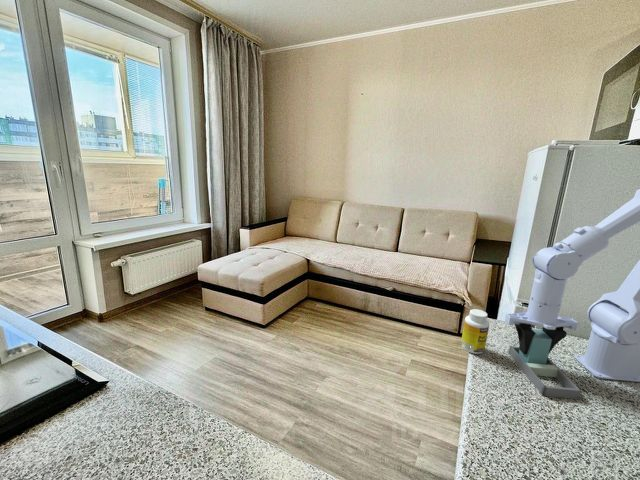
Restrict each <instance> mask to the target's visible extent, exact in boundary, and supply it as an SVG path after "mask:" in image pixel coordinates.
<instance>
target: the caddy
mask: <svg viewBox="0 0 640 480" xmlns="http://www.w3.org/2000/svg"><path fill="white" fill-rule="evenodd" d="M519 350H520V348H519V346H514V345H513V346H511V345H510V346H509V349H508V354H509V355H510V357H511V358H512V359H513V362H515V363H516V364H517V365H518V367H519V368H520V369H521V371H522V372H523V373H524V374H525V376H526V377H527V378H528V379H529V381H530V382H531V383H532V384H533V386H534V387H535V388H536V389H537V391H538V392H539V393H540V394H541V396H543V397H553V398H566V399H572V400H573V399H574V400H575V399H576V400H579V399H580V396H581V393H582V390H581V389H580V388H579V387H578V386H577V385H576V384H575V383H574V382H573V381H572V380H571V379H570V378H569V377H568V376H567V375H566V374H565V373H564V372H563V370H561V369H560V368H559V366H558V365H556V364H555V363H554V362H553V361H552V360H551V359H550V357H548V358H547V362H546V365H545V364H534V363H526V362H525V361H524V360H523V359H522V358H521V356H520V355H519ZM539 376H541V377H542V376H543V377H547V378H548V377H550V378H556V379H557V380H558V381H559V382H560V383H561V384H562V385H563V387H562V386H561V387H560V386H549V385H545V383H544V382H543V381H542V380H541V379H540V378H539Z"/></svg>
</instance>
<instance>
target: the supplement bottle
mask: <svg viewBox="0 0 640 480" xmlns="http://www.w3.org/2000/svg"><path fill="white" fill-rule="evenodd" d="M489 329H490V322H489V321H488V313H487V312H486V311H484V310H482V309H477V308H474V309H470V310H469V314H468V315H466V317H465V318H464V323H463V329H462V335H461V341H460V345H461V347H462V349H463V350H465V351H466V352H469V353H470V354H475V355H479V354H483V353H484V352H485V349H486V344H487V339H488V334H489ZM470 346H471V348H470Z"/></svg>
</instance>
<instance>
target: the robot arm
mask: <svg viewBox="0 0 640 480" xmlns="http://www.w3.org/2000/svg"><path fill="white" fill-rule="evenodd" d="M638 223H640V188H639V189H637V190H635V194H634V196H633V198H631V199H630V200H629V201H627V202H626V203H624V204H622V205H621V206H620V207H619V208H618V209H616V210H615V211H614V212H612V213H611V214H610V215H609V216H606V217H605V218H604V219H603V220H601V221H600V222H598V223H597V224H596V225H594V226H590V225H585V226H582V227H580V226H579V227H577V228H575V229H574V230H573V233H572V234H570V235H568V236H567V237H565V238H564V239H562V240H561V241H559V242H556V243H554V244H553V246H552V247H551V246H548V247H544V248H541V249H540V250H538V251H537V252H536V253H535V255H534V256H533V257H531V263H532V265H533V267H534V278H533V283H532V287H531V292H530V296H529V297H530V298H529V301H528V306H527V309H526V310H527V311H526V312H525V311H524V312H515V313H506V314H505V319H504V321H505V323H506V324H507V325H509V326H514V327H515V329H516V333H517V337H518V344H519V346H518V347H519V348H520V351H521V352H522V353H523V354H527V353H528V350H529V346H530V343H531V340H532V338H533V337H534V335H535V334H536V333H535V332H534V331H533V330H532V329H533V327H532V326H537V327H541V330H542V331H543V332H545V333H546V334H547V335H548V336H549V337H550V338H551V339H552V342H551V346H550V350H549V354H551V352H552V350H553V349H554V348H555V346H556V345H557V344H559V342H560V341H562V340H563V339H565V338H567V334H568V333H567V332H566V331H565V330H564V329H570V330H572V331H576V330H577V329H578V325H579V322H578V321H577V320H575V318H571V317H565V316H560V315H559V314H560V311H561V305H562V301H563V297H564V295H565V294H564V293H565V291H566V285H567V281H568V279H569V278H572V277H574V276H575V275H576V274H577V272H578V270H579V267H580V266H582V265H583V263H584V262H586V261H587V260H588V259H590V258H591V257H593V256H595V255H597V253H600V252H601V251H602V250H604V249H606V248H608V245H609V240H610V239H611V238H612V237H614V236H616V235H618V234H619V233H621V232H623V231H625V230H627V229H629V228H631V227H633V226H634V225H636V224H638ZM586 315H587V316H586V317H587V319H588V320H589V321H590V326H589V327H591V331H590V335H589V339H588V342H587V345H586V350H585V353H584V355H579V354H578V355H577V354H574V355H573V357H574V359H576V360H577V361H578V362H579V363H580V364H581V365H582V366H583V367H584V368H586V369H587V370H588V371H589V372H590V373H591V374H592V375H593V376H594V377H596V378H597V379H606V380H615V381H626V382H637V383H640V259H639V260H638V261H637V263H636V264H635V265H634V266H633V268H632V270H631V271H630V272H629V274H628V275H627V277H626V278H625V280H624V281H623V282H622V283H621V285H620V286H619V288H618V289H617V290H616V291H611V292H607V293H603V294H602V295H601V297H600V298H599V299H598V300H597V301H595V302H594V303H592V304H591V305H590V306H589V307H588V309H587V312H586ZM549 354H548V356H549Z"/></svg>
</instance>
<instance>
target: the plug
mask: <svg viewBox="0 0 640 480" xmlns="http://www.w3.org/2000/svg"><path fill="white" fill-rule="evenodd" d="M532 330H533V331H534V332H535V333H536V334H535V335H534V337H533V338H532V340H531V343H530V346H529V350H528V353H527V354H523V353H522V352H521V351H520V350H519V355H520V356H521V358H522V359H523V360H524V361H525V362H526V363H534V364H545V365H546V362H547V358H549V355H548V354H550V353H549V350H550V346H551V342H552V339H551V338H550V337H549V336H548V335H547V334H546V333H545V332H543V331H542V329H533V328H532Z"/></svg>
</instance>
